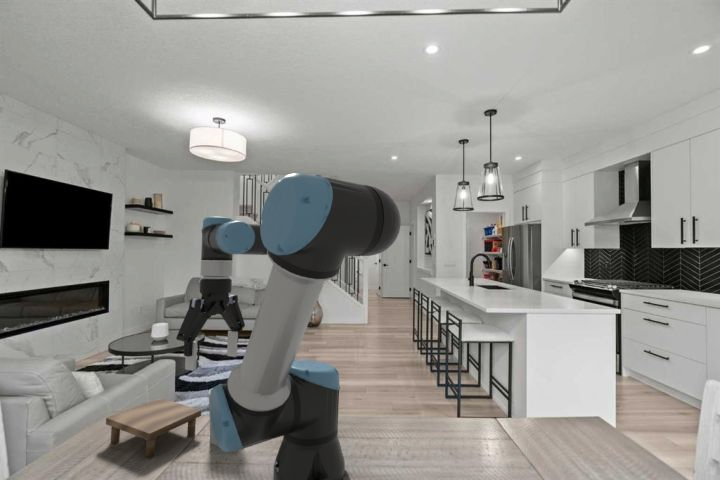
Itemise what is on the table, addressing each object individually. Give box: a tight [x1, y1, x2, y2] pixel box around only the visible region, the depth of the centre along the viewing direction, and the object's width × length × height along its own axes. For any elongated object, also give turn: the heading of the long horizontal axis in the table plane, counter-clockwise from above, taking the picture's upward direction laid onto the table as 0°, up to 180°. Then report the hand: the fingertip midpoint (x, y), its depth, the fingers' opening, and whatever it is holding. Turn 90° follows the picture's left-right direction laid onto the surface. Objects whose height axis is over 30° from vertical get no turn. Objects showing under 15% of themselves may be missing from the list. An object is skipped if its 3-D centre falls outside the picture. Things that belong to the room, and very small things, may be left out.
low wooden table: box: [105, 397, 202, 459], centre depth 89 cm, size 16×14×6 cm
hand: (212, 362), depth 89 cm, fingers open, 13 cm apart
